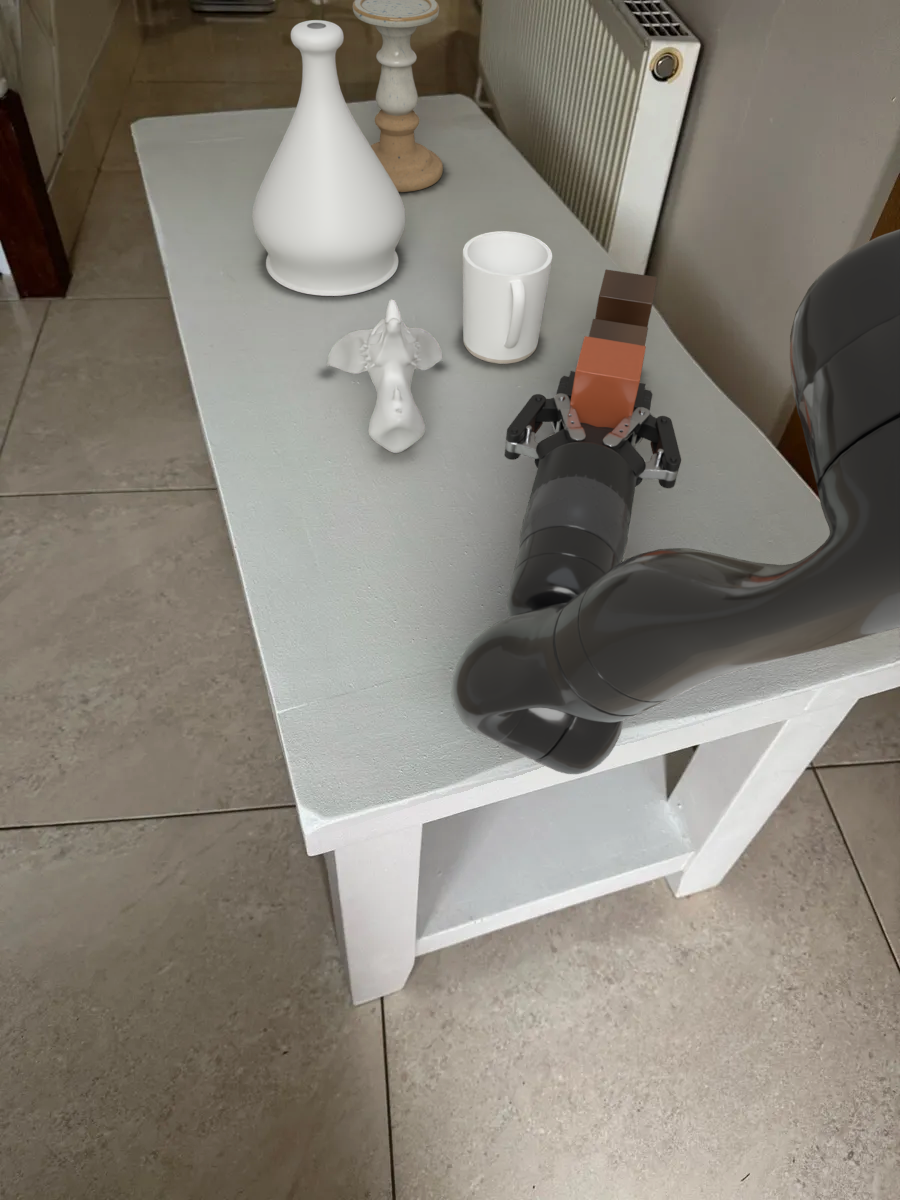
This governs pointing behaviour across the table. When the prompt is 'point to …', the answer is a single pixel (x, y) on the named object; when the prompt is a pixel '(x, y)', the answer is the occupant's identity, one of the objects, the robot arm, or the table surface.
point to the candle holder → (400, 91)
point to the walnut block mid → (618, 332)
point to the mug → (504, 295)
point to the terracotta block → (606, 381)
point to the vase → (327, 187)
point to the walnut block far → (626, 298)
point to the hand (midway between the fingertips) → (605, 386)
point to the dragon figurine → (390, 374)
